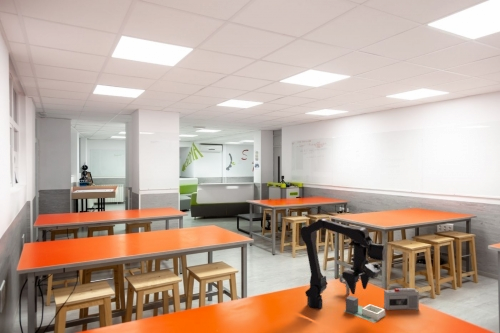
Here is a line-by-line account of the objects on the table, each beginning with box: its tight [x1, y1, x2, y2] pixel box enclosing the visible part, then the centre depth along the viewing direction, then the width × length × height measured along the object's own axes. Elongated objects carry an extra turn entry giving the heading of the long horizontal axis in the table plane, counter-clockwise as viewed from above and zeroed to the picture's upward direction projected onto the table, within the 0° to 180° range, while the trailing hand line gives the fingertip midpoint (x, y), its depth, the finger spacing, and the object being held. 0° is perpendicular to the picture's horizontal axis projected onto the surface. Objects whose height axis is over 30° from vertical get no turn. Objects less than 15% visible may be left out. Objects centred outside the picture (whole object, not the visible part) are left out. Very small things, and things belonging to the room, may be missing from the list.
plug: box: [345, 295, 359, 314], centre depth 149 cm, size 4×4×6 cm
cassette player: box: [383, 287, 420, 311], centre depth 152 cm, size 16×3×10 cm, turn 94°
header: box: [362, 303, 386, 321], centre depth 146 cm, size 8×7×3 cm
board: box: [343, 304, 387, 324], centre depth 147 cm, size 15×11×1 cm
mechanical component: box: [338, 274, 350, 296], centre depth 169 cm, size 3×10×10 cm, turn 43°
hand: (358, 291), depth 142 cm, fingers open, 9 cm apart
